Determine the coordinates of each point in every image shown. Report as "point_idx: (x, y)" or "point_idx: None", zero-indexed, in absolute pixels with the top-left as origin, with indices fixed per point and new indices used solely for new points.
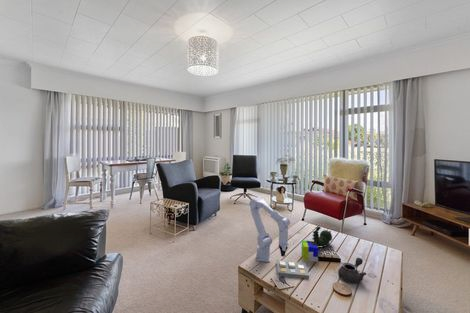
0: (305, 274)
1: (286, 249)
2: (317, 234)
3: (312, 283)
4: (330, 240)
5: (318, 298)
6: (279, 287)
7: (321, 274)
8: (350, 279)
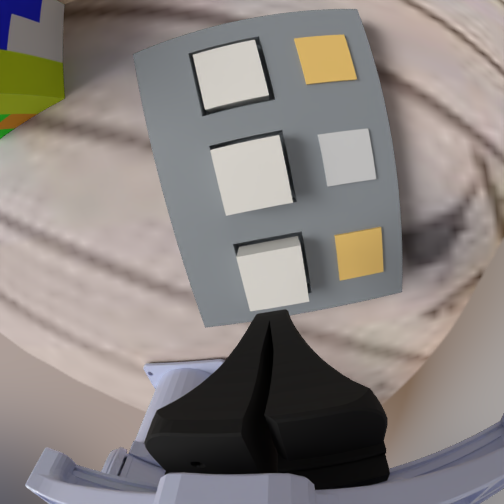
0: (357, 36)
1: (359, 389)
2: None
3: (398, 10)
4: None
5: (501, 29)
6: (495, 249)
7: None
8: None
